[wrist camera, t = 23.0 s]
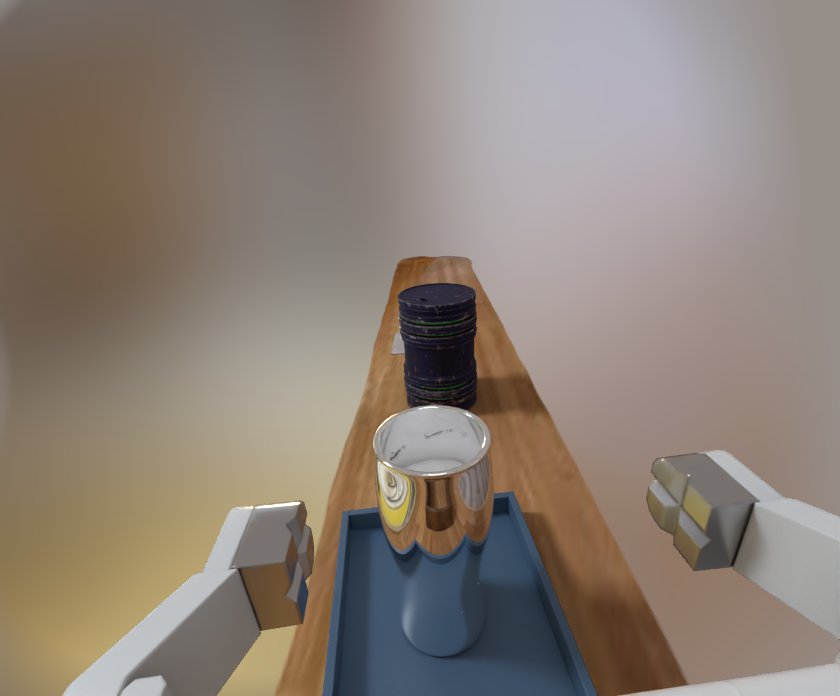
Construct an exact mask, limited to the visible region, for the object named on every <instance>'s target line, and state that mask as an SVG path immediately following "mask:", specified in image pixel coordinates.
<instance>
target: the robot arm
mask: <svg viewBox="0 0 840 696" xmlns="http://www.w3.org/2000/svg"><path fill="white" fill-rule="evenodd" d="M651 473H652V474H653V475H654V477H655V478H656V479H655V480H654V481H653V482H652V483H651V484H650V485H649V486H648V491H647V503H648V508H649V511H650V513H651V515H652V517H653V519H654V520H655V522H656V523H657V525H658V526H659V527H660V528H661V529H662V530H664V531H666V532H668V533H670V534H671V535H673V545H674V546H675V548H676V549H677V550H678V551H679V553H680V554H681V555H682V557H683V558H684V559H685V560H686V562H687V563H688V564H689V566H690V567H691V568H692V569H693V570H694V571H700V570H709V569H719V568H728V567H733V570H735V571H736V572H738V573H739V574H741V575H742V576H744V577H745V578H747V579H748V580H750V581H751V582H753V583H754V584H756V585H757V586H759V587H761V588H762V589H763V590H765V591H766V592H768V593H770V594H771V595H773V596H774V597H776V598H777V599H778V600H780V601H781V602H783V603H785V604H786V605H787V606H789V607H790V608H792V609H794V610H795V611H797V612H798V613H800V614H801V615H803V616H804V617H806V618H807V619H809V620H810V621H812V622H813V623H815V624H816V625H818V626H819V627H821V628H822V629H824V630H825V631H827V632H828V633H830V634H831V635H833V636H834V637H836V638H837V639H839V640H840V517H838V516H836V515H833V514H831V513H829V512H826V511H824V510H821V509H819V508H816V507H814V506H811V505H809V504H806V503H804V502H801V501H798V500H796V499H793V498H789V499H785V498H784V497H783V496H782V495H780V494H779V493H778V492H777V491H775V490H774V489H772V487H770V486H769V485H768V484H767V483H765V482H764V481H763V480H762V479H760V478H759V477H758V476H757V475H756V474H754V473H753V472H752V471H751V470H749V469H748V468H747V467H746V466H744V465H743V464H742V463H740V462H739V461H738V460H737V459H736V458H735V457H733V456H732V455H731V454H729V453H728V452H726V451H723V450H713V451H706V452H699V453H693V454H685V455H678V456H670V457H661V458H657V459H656V460H655V461H654V463H653V465H652V470H651ZM306 518H307V511H306V507H305V504H304V502H303V501H293V502H282V503H272V504H262V505H257V506H245V507H235V508H233V509H232V510H231V511H230V512H229V513H228V516H227V518H226V520H225V522H224V525H223V527H222V529H221V531H220V534H219V536H218V538H217V540H216V542H215V545H214V547H213V550H212V552H211V554H210V556H209V558H208V561H207V563H206V565H205V567H204V569H203V572H202V573H198V574H194V575H193V576H192V577H191V578H190V579H188V580H187V581H186V582H185V583H184V584H183V585H182V586H180V587H179V588H178V589H177V590H176V591H175V592H174V593H173V594H171V595H170V596H169V597H168V598H167V599H166V600H165V601H163V602H162V603H161V604H160V605H159V606H158V607H157V608H156V609H154V610H153V611H152V612H151V613H150V614H149V615H148V616H147V617H146V618H144V619H143V620H142V621H141V622H140V623H139V624H138V625H136V626H135V627H134V628H133V629H132V630H131V631H130V632H129V633H127V634H126V635H125V636H124V637H123V638H122V639H121V640H120V641H118V642H117V643H116V644H115V645H114V646H113V647H112V648H111V649H109V650H108V651H107V652H106V653H105V654H104V655H103V656H102V657H100V658H99V659H98V660H97V661H96V662H95V663H94V664H92V665H91V666H90V667H89V668H88V669H87V670H86V671H85V672H84V673H82V674H81V675H80V676H79V677H78V678H77V679H76V680H74V681H73V682H72V683H71V684H70V685H69V686H68V688H67V689H66V691H65V693H64V694H63V696H217V694H218V693H219V691H220V690H221V689H222V687H223V686H224V684H225V683H226V682H227V680H228V679H229V677H230V676H231V675H232V673H233V672H234V670H235V669H236V668H237V666H238V665H239V663H240V662H241V661H242V659H243V658H244V656H245V655H246V653H247V652H248V651H249V649H250V648H251V647H252V645H253V644H254V643H255V641H256V640H257V638H258V637H259V636H260V634H261V632H260V631H262V630H268V629H274V628H280V627H286V626H292V625H299V624H303V620H304V615H305V609H306V603H307V598H308V589H307V585H306V582H305V581H306V579H307V578H308V577H309V576H310V575H311V574H312V568H313V561H314V543H313V535H312V531H311V528H310V527H308V526H307V525H306V524H305V522H306ZM619 696H840V650H839V652H838V654H837V656H836V657H835V662H834V664H827V665H820V666H814V667H807V668H801V669H794V670H787V671H781V672H774V673H767V674H760V675H754V676H747V677H740V678H733V679H727V680H720V681H713V682H707V683H700V684H693V685H686V686H680V687H673V688H666V689H660V690H653V691H646V692H639V693H633V694H626V695H619Z"/></svg>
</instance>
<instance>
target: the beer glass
mask: <svg viewBox="0 0 840 696" xmlns="http://www.w3.org/2000/svg"><path fill="white" fill-rule="evenodd" d="M490 442H491V437H490V432H489V430H488V428H487V426H486V425H485V423H484V422H483V421H482V420H481V419H480V418H478V417H477V416H476V415H474V414H472V413H470V412H468V411H466V410H463V409H460V408H457V407H452V406H445V405H426V406H418V407H414V408H410V409H406V410H404V411H401V412H399V413H397V414H395V415H393V416H391V417H390V418H388V419H387V420H386V421H385V422H383V423H382V424H381V426H380V427H379V428H378V430H377V431H376V433H375V436H374V440H373V446H374V455H375V485H376V496H377V505H378V510H379V516H380V521H381V526H382V529H383V532H384V535H385V539H386V542H387V545H388V547H389V550H390V553H391V555H392V558H393V560H394V563H395V565H396V568H397V571H398V573H399V576H400V580H401V587H402V588H401V596H400V603H399V619H400V624H401V627H402V630H403V632H404V634H405V636H406V637H407V639H408V640H409V641H410V642H411V643H412V644H413V645H414V646H415V647H416V648H417V649H419V650H420V651H422V652H424V653H426V654H429V655H432V656H437V657H449V656H454V655H457V654H460V653H462V652H464V651H466V650H467V649H468V648H470V647H471V646H472V645H473V644H474V643H475V642H476V641H477V639H478V638H479V636H480V635H481V633H482V630H483V627H484V624H485V619H486V610H485V603H484V599H483V595H482V592H481V588H480V582H479V581H480V573H481V568H482V564H483V560H484V556H485V552H486V548H487V544H488V540H489V536H490V530H491V524H492V519H493V504H494V482H493V467H492V457H491V446H490Z"/></svg>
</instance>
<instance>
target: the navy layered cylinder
mask: <svg viewBox="0 0 840 696" xmlns="http://www.w3.org/2000/svg"><path fill="white" fill-rule="evenodd" d="M475 299H476V293H475V290H474V289H473V288H471V287H469V286H465V285H461V284H452V283H435V284H425V285H419V286H414V287H411V288H408V289H405V290H403V291H402V292H400V293H399V295H398V302H399V305H400V306H399V313H400V314H399V323H400V327H401V330H400V334H401V338H402V340H403V341H404V350H405V363H404V373H405V375H404V380H405V387H406V392H407V403H408V405H409V406H410V408H414V407H418V406H426V405H445V406H452V407H457V408H460V409H463V410H466V411H467V410H469V409H470V408H471V407H472V406H473V405H474V404H475V402H476V384H477V371H476V360H475V358H474V337H475V335H476V330H477V327H476V321H477V316H476V303H475Z"/></svg>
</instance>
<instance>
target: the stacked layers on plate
mask: <svg viewBox="0 0 840 696" xmlns="http://www.w3.org/2000/svg"><path fill="white" fill-rule="evenodd" d="M398 319H399V317H398ZM399 327H400V323H399ZM400 328H401V327H400ZM404 353H405V350H404V341H403V340H402V338H401V334H400V333H395V337H394V342H393V347H392V352H391V354H404Z"/></svg>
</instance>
